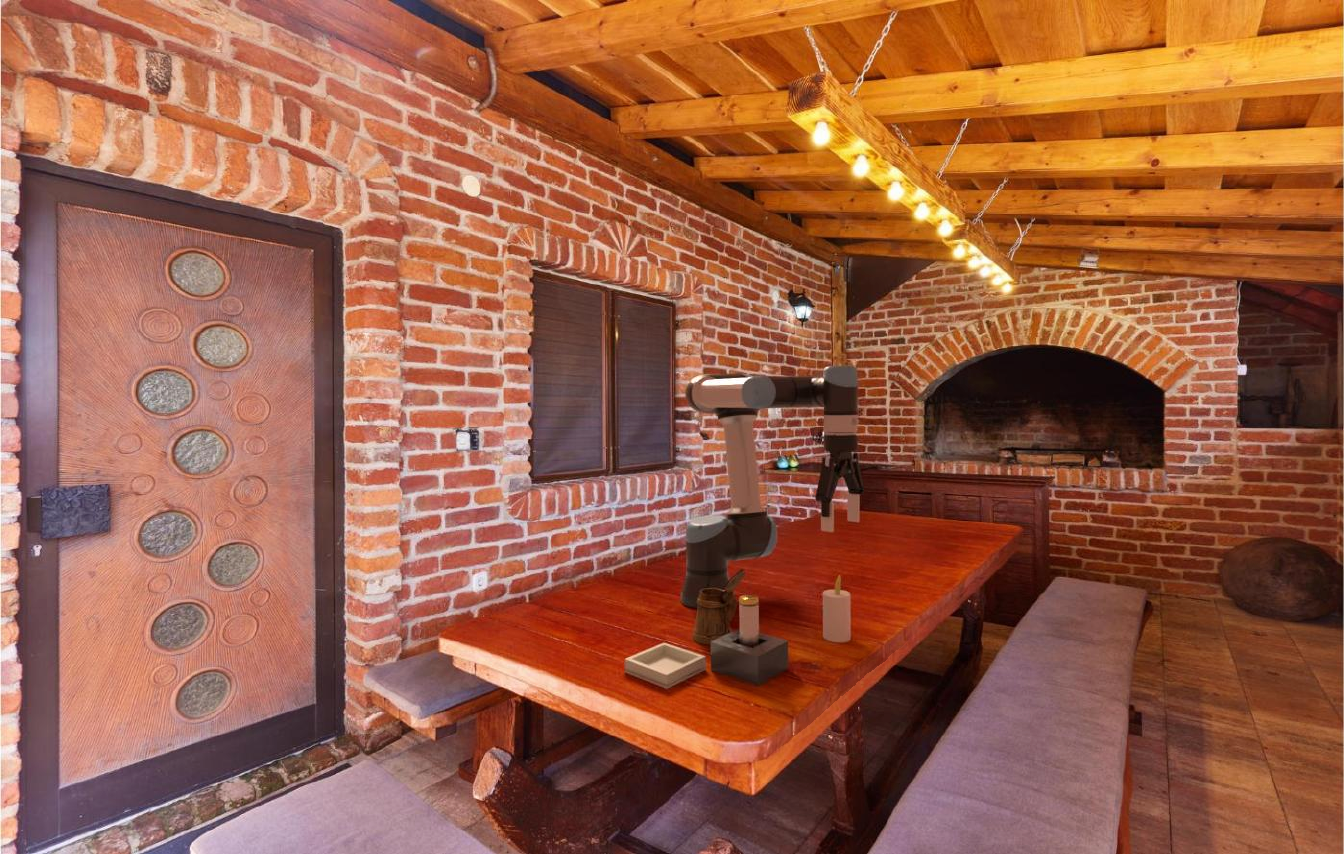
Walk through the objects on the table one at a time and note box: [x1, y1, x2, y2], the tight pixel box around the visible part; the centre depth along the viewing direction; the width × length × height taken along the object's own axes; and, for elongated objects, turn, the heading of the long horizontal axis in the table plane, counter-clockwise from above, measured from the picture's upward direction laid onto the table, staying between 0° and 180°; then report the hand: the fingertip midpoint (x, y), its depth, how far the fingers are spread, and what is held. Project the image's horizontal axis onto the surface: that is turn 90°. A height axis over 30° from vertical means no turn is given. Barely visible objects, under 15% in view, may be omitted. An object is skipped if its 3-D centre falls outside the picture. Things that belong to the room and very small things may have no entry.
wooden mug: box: [692, 568, 746, 645], centre depth 152 cm, size 9×14×18 cm, turn 51°
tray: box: [624, 642, 707, 690], centre depth 135 cm, size 12×12×3 cm
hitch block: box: [710, 628, 789, 687], centre depth 135 cm, size 12×11×6 cm
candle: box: [821, 574, 852, 643], centre depth 152 cm, size 6×6×15 cm
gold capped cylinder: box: [738, 594, 760, 648], centre depth 135 cm, size 4×4×15 cm
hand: (840, 526), depth 148 cm, fingers open, 13 cm apart
